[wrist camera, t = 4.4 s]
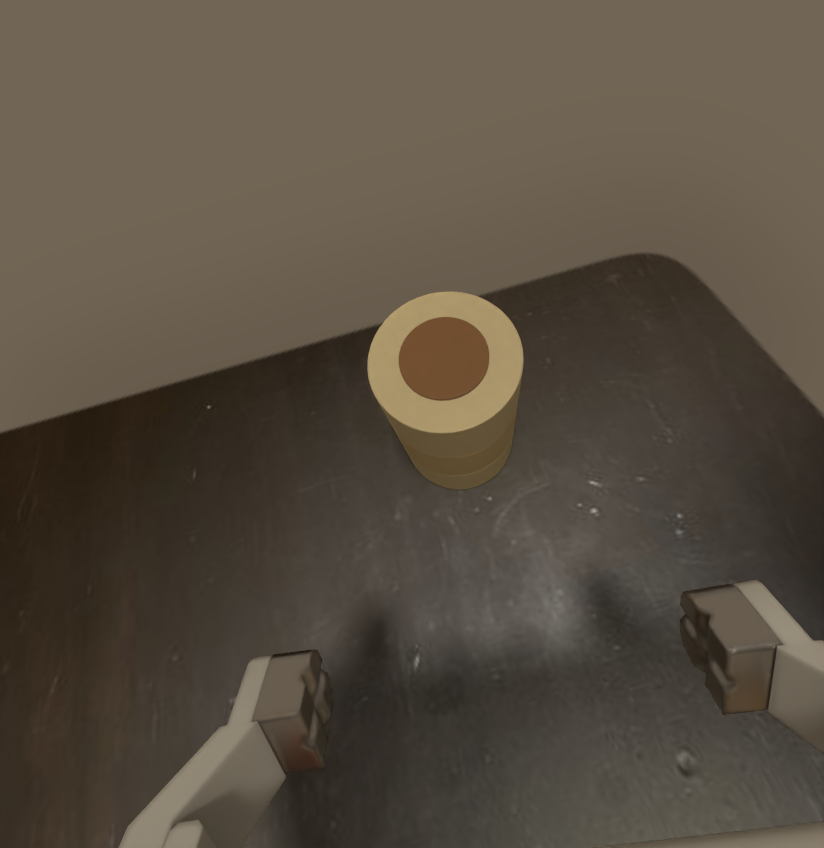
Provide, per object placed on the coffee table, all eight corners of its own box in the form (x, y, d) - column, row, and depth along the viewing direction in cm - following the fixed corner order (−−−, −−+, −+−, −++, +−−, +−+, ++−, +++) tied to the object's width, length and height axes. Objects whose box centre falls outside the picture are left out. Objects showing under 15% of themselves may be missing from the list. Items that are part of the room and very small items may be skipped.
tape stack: (469, 371, 26) (459, 262, 18) (534, 447, 25) (558, 367, 16) (387, 429, 26) (337, 346, 17) (447, 511, 24) (425, 464, 16)
